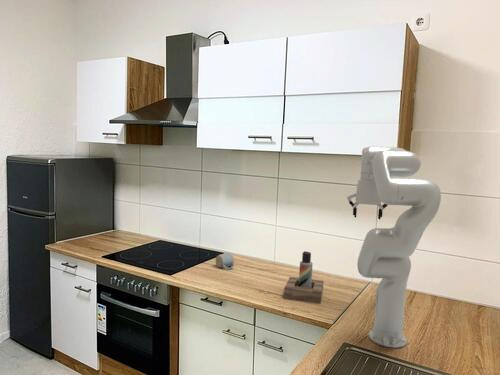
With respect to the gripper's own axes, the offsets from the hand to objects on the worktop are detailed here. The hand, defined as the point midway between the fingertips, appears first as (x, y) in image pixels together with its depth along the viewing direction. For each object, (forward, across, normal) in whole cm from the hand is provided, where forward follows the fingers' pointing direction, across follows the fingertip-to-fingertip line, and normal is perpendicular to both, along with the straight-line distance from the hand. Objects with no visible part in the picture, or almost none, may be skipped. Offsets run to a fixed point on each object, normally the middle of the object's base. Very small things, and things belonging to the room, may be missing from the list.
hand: (367, 217), depth 160 cm
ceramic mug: (+39, +71, -32) cm, 87 cm away
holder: (+38, +25, -5) cm, 46 cm away
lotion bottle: (+38, +25, -5) cm, 46 cm away
